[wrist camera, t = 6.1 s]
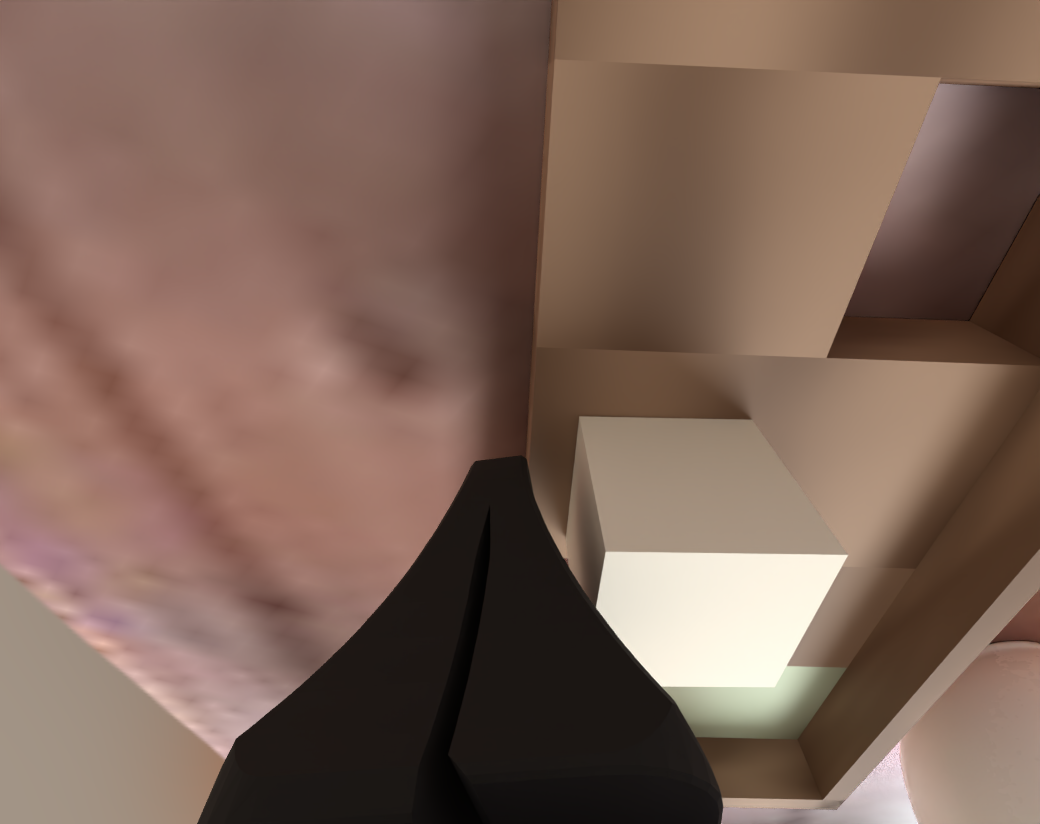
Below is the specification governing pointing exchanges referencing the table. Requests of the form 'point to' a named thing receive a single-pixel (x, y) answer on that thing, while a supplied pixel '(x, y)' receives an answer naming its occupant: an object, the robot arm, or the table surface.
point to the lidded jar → (980, 743)
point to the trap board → (794, 336)
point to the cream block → (697, 547)
